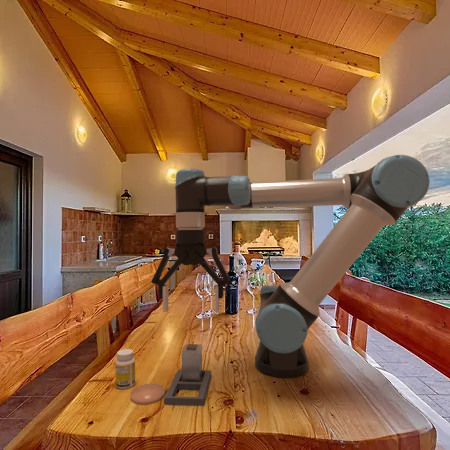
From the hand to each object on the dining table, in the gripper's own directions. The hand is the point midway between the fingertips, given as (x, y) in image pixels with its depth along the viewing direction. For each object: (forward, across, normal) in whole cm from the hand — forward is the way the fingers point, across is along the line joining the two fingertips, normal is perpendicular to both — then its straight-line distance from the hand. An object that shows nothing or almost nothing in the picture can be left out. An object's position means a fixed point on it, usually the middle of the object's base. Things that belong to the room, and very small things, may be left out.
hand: (191, 311), depth 82 cm
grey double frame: (+18, 0, +4) cm, 19 cm away
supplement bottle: (+19, +17, +2) cm, 25 cm away
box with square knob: (+18, 0, 0) cm, 18 cm away
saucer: (+18, +10, +7) cm, 22 cm away
